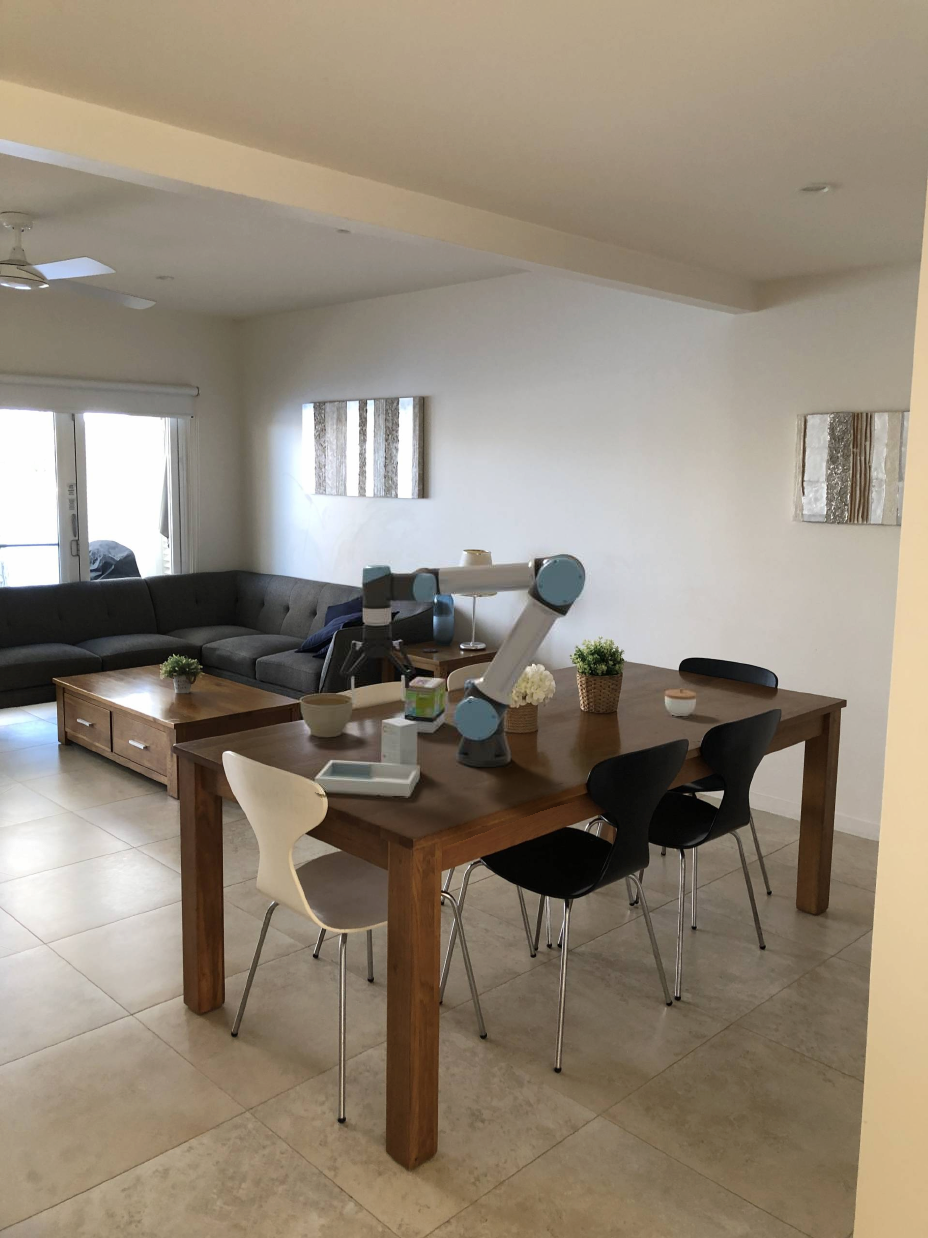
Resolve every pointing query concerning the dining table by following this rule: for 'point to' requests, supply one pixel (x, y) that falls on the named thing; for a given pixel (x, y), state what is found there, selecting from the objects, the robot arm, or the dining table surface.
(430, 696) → the tea box
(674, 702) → the lidded jar
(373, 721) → the dining table surface
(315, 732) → the planter bowl
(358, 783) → the tray
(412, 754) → the small box
